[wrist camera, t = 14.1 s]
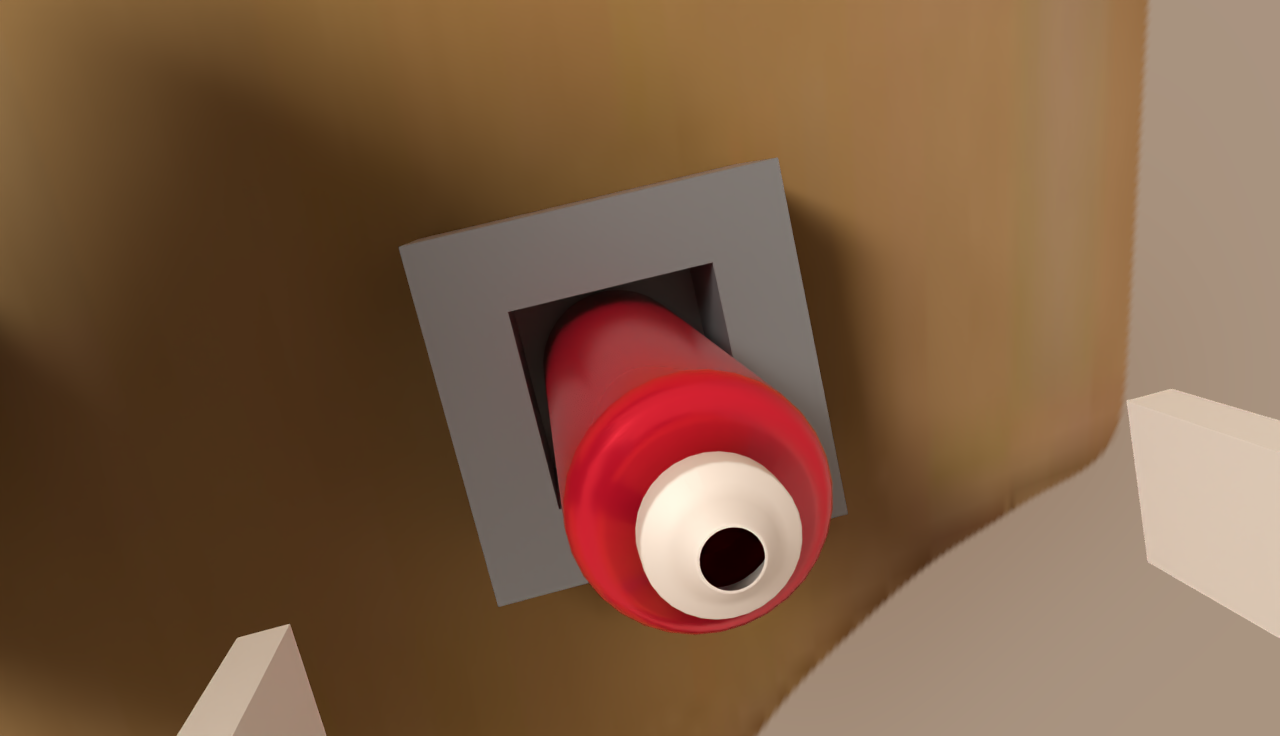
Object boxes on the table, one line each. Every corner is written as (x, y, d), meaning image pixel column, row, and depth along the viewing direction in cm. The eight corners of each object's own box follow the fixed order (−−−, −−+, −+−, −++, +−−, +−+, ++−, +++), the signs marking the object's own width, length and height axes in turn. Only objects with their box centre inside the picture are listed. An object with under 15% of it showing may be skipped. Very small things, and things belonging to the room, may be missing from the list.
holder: (501, 543, 38) (498, 606, 32) (418, 238, 35) (398, 247, 29) (798, 466, 39) (847, 513, 33) (736, 164, 36) (777, 157, 30)
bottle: (661, 268, 36) (833, 353, 16) (709, 404, 37) (925, 639, 17) (520, 320, 35) (522, 471, 16) (573, 456, 36) (635, 755, 17)
